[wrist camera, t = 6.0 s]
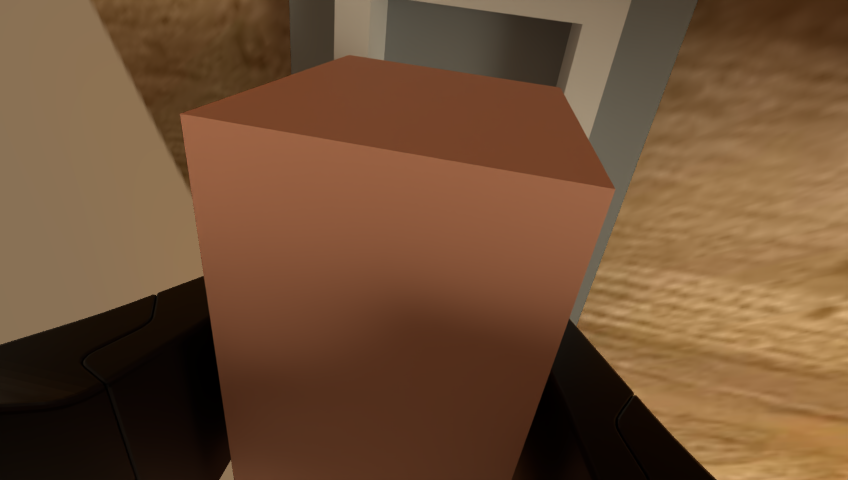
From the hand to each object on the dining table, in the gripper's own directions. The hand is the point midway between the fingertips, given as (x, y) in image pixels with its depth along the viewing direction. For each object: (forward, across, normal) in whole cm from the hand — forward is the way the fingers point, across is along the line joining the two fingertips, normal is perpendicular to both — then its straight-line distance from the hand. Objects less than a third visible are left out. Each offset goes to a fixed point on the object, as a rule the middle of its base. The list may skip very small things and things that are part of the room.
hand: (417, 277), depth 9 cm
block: (+1, 0, 0) cm, 1 cm away
